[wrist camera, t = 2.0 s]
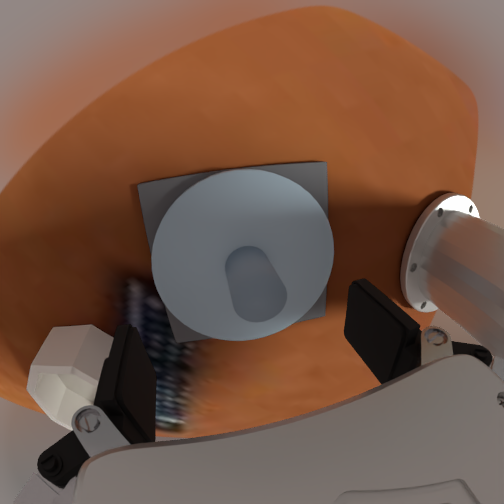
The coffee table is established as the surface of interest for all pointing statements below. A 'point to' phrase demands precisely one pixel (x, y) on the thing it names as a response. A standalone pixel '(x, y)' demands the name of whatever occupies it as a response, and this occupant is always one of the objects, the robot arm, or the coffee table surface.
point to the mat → (168, 190)
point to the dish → (68, 370)
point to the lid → (242, 254)
